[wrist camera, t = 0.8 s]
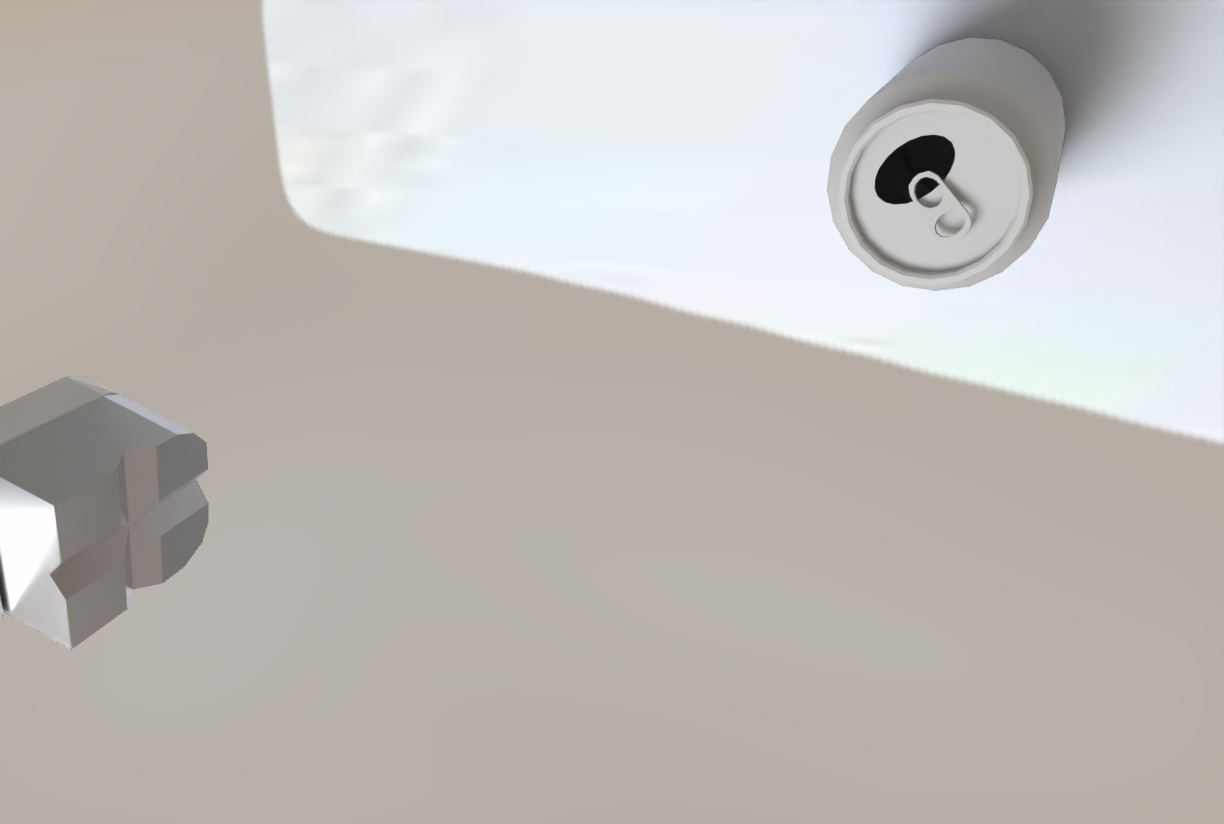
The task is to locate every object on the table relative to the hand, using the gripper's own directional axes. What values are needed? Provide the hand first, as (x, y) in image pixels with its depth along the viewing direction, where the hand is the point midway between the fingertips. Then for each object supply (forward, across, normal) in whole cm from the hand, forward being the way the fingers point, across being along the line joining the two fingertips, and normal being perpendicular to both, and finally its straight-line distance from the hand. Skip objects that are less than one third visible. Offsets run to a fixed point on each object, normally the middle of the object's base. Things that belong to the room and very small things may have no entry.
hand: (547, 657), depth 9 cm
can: (+39, -1, +2) cm, 39 cm away
